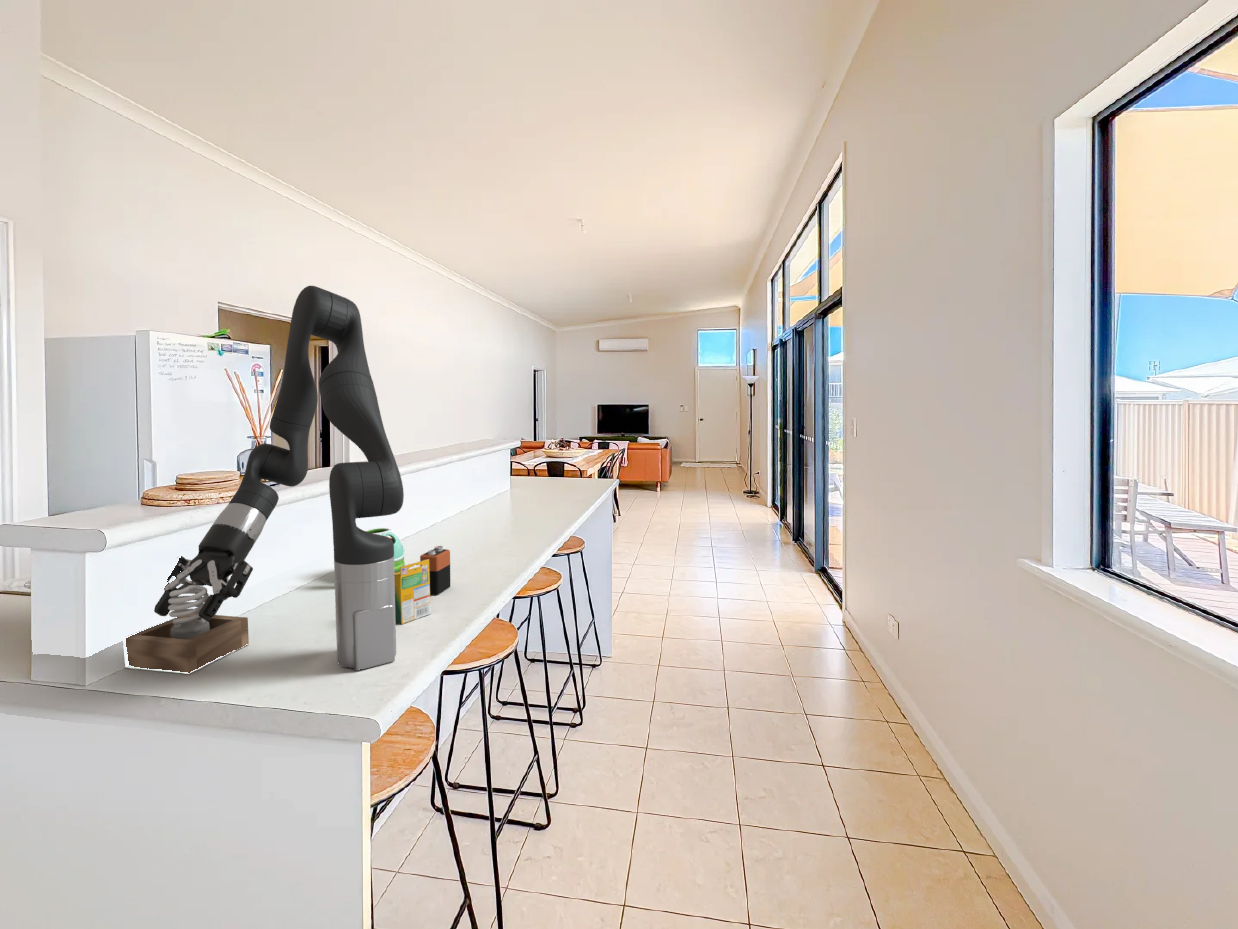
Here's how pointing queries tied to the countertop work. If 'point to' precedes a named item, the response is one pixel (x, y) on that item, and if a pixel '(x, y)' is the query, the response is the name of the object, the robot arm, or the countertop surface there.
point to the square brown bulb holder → (186, 644)
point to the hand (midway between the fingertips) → (181, 616)
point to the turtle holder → (398, 546)
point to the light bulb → (188, 612)
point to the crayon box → (412, 592)
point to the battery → (438, 569)
